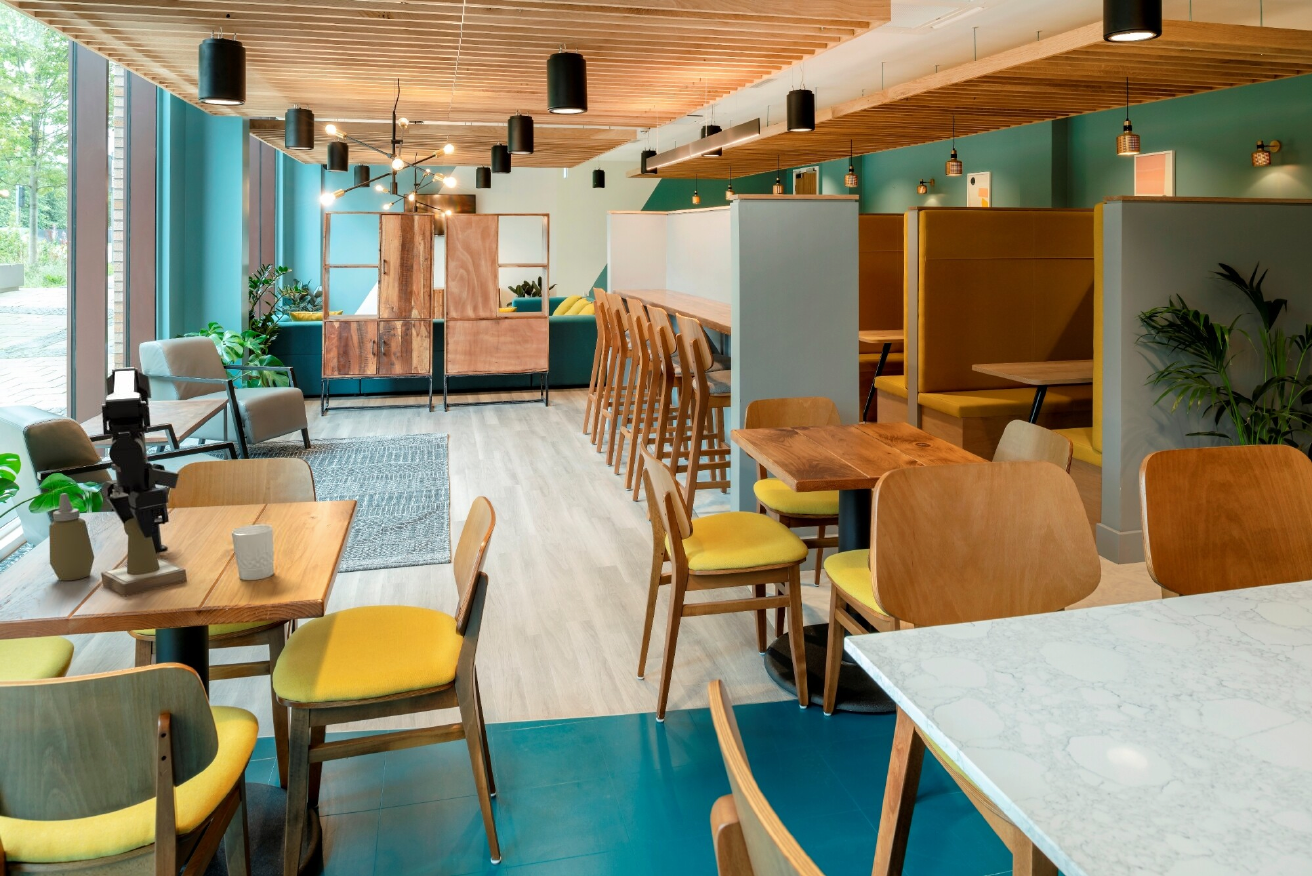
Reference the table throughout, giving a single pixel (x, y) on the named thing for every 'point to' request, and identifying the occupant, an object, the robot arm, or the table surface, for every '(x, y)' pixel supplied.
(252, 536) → the white cup
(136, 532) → the cork
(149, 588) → the walnut picture frame
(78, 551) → the squeeze bottle
